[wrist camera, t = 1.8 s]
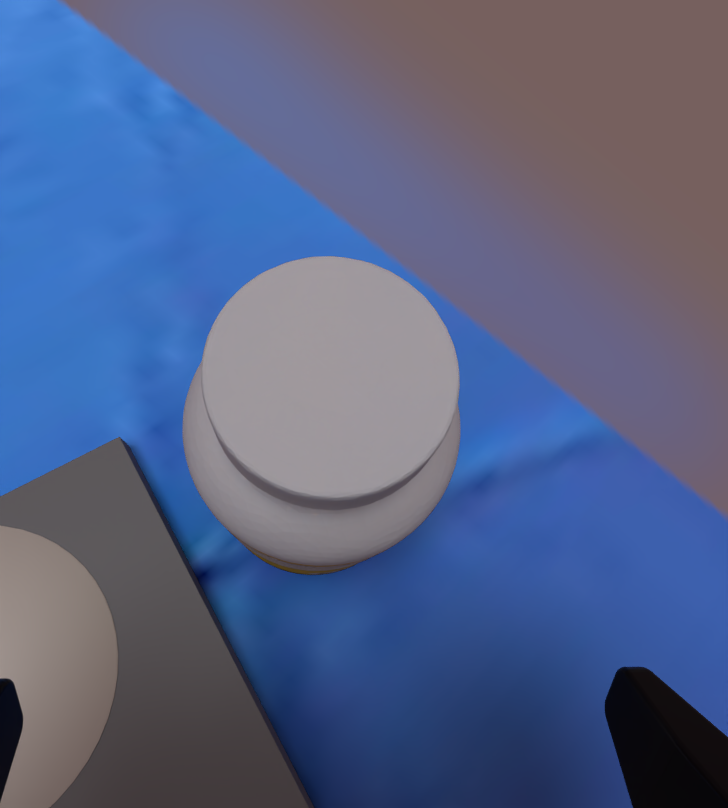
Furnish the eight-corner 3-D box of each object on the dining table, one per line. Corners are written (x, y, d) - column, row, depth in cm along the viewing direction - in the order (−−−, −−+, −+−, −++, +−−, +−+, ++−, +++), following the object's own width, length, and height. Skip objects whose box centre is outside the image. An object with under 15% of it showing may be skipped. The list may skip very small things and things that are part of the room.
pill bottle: (332, 367, 23) (368, 158, 12) (437, 502, 22) (582, 405, 11) (186, 465, 21) (72, 323, 10) (291, 617, 20) (291, 640, 9)
